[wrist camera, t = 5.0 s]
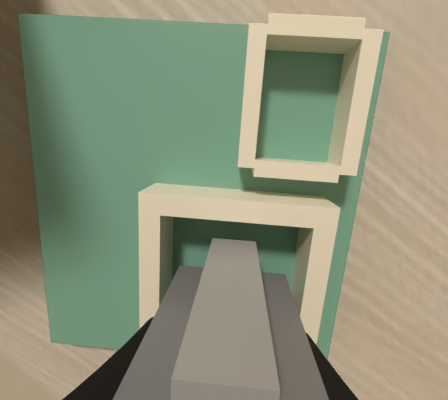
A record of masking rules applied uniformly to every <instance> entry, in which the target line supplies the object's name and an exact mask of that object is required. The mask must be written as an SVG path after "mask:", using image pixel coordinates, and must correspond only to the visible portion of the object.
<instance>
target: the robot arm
mask: <svg viewBox="0 0 448 400" xmlns="http://www.w3.org/2000/svg"><path fill="white" fill-rule="evenodd" d="M153 318H154V317H151V318H150V319H149V320H148V321H147V322H146V323H145V324H144V325H143V326H142V327H141V328H140V329H139V330H138V331H137V332H136V333H135V334H134V335H133V336H132V337H131V338H130V339H129V340H128V341H127V342H126V343H125V344H124V345H123V346H122V347H121V348H120V349H119V350H118V351H117V352H116V353H115V354H114V355H113V356H112V357H110V358H109V359H108V360H107V361H106V362H105V363H104V364H103V365H102V366H101V367H100V368H99V369H98V370H96V371H95V372H94V373H93V374H92V375H91V376H90V377H88V378H87V379H86V380H85V381H84V382H83V383H81V384H80V385H79V386H78V387H77V388H76V389H75V390H73V391H72V392H71V393H70V394H69V395H67V396H66V397H65V398H64V399H62V400H113V398H114V396H115V394H116V392H117V390H118V388H119V386H120V384H121V382H122V380H123V378H124V376H125V374H126V372H127V370H128V368H129V366H130V364H131V362H132V360H133V358H134V356H135V354H136V352H137V350H138V348H139V346H140V344H141V342H142V340H143V338H144V336H145V334H146V332H147V330H148V328H149V326H150V324H151V322H152V320H153ZM306 335H307V338H308V341H309V344H310V347H311V350H312V352H313V355H314V358H315V361H316V364H317V367H318V370H319V372H320V375H321V378H322V381H323V384H324V387H325V390H326V393H327V395H328V398H329V400H358V399H357V397H356V396H355V395H354V394H353V392H352V391H351V390H350V389H349V387H348V386H347V385H346V384H345V382H344V381H343V380H342V379H341V377H340V376H339V375H338V373H337V372H336V371H335V370H334V368H333V367H332V366H331V364H330V363H329V362H328V360H327V359H326V358H325V356H324V355H323V353H322V352H321V351H320V349H319V348H318V347H317V345H316V344H315V343H314V341H313V340H312V338H311V337H310V336H309V335H308V333H306Z"/></svg>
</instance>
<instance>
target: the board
mask: <svg viewBox="0 0 448 400" xmlns="http://www.w3.org/2000/svg"><path fill="white" fill-rule="evenodd" d="M17 14H18V23H19V33H20V43H21V53H22V63H23V73H24V82H25V92H26V102H27V112H28V122H29V132H30V141H31V151H32V161H33V171H34V181H35V191H36V200H37V210H38V220H39V230H40V240H41V250H42V259H43V269H44V279H45V289H46V299H47V309H48V318H49V328H50V338H51V343H61V344H70V345H80V346H89V347H98V348H108V349H117V350H119V349H120V348H121V347H122V346H123V345H124V344H125V343H126V342H127V341H128V340H129V339H130V338H131V337H132V336H133V335H134V334H135V333H136V332H137V331H138V330H139V329H140V328H141V327H142V326H143V325H144V324H145V323H146V322H147V321H148V320H149V319H150V318H151V317H154V316H155V314H156V312H157V310H158V308H159V306H160V304H161V302H162V300H163V298H164V296H165V294H166V292H167V290H168V288H169V286H170V284H171V282H172V280H173V278H174V276H175V274H176V272H177V270H178V268H179V266H180V265H182V266H194V267H204V265H205V262H206V259H207V255H208V252H209V248H210V245H211V242H212V238H218V239H231V240H244V241H256V246H257V252H258V258H259V264H260V270H261V272H266V273H278V274H285V275H286V278H287V281H288V284H289V287H290V290H291V292H292V295H293V298H294V301H295V304H296V307H297V310H298V312H299V315H300V318H301V321H302V324H303V327H304V330H305V332H306V333H308V335H309V336H310V337H311V338H312V340H313V341H314V343H315V344H316V345H317V347H318V348H319V349H320V351H321V352H322V353H323V355H324V356H325V358H326V359H327V358H328V353H329V348H330V343H331V338H332V332H333V327H334V322H335V317H336V312H337V306H338V301H339V296H340V291H341V285H342V280H343V275H344V270H345V265H346V259H347V254H348V249H349V244H350V239H351V233H352V228H353V223H354V218H355V212H356V207H357V202H358V197H359V192H360V186H361V181H362V176H363V171H364V166H365V160H366V155H367V150H368V145H369V139H370V134H371V129H372V124H373V119H374V113H375V108H376V103H377V98H378V93H379V87H380V82H381V77H382V72H383V67H384V61H385V56H386V51H387V46H388V40H389V35H390V32H383V31H384V30H383V29H364V27H365V21H366V18H363V17H342V16H321V15H301V14H280V13H269V15H268V19H267V24H264V23H249V25H242V24H222V23H202V22H182V21H163V20H143V19H123V18H103V17H84V16H64V15H44V14H24V13H17Z"/></svg>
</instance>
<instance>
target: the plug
mask: <svg viewBox="0 0 448 400" xmlns="http://www.w3.org/2000/svg"><path fill="white" fill-rule="evenodd" d="M113 400H329V398H328V395H327V393H326V390H325V387H324V384H323V381H322V378H321V375H320V372H319V370H318V367H317V364H316V361H315V358H314V355H313V352H312V350H311V347H310V344H309V341H308V338H307V335H306V332H305V330H304V327H303V324H302V321H301V318H300V315H299V312H298V310H297V307H296V304H295V301H294V298H293V295H292V292H291V290H290V287H289V284H288V281H287V278H286V275H285V274H278V273H266V272H261V270H260V264H259V258H258V252H257V246H256V241H244V240H231V239H218V238H212V242H211V245H210V248H209V252H208V255H207V259H206V262H205V265H204V267H194V266H182V265H180V266H179V268H178V270H177V272H176V274H175V276H174V278H173V280H172V282H171V284H170V286H169V288H168V290H167V292H166V294H165V296H164V298H163V300H162V302H161V304H160V306H159V308H158V310H157V312H156V314H155V316H154V318H153V320H152V322H151V324H150V326H149V328H148V330H147V332H146V334H145V336H144V338H143V340H142V342H141V344H140V346H139V348H138V350H137V352H136V354H135V356H134V358H133V360H132V362H131V364H130V366H129V368H128V370H127V372H126V374H125V376H124V378H123V380H122V382H121V384H120V386H119V388H118V390H117V392H116V394H115V396H114V398H113Z"/></svg>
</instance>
